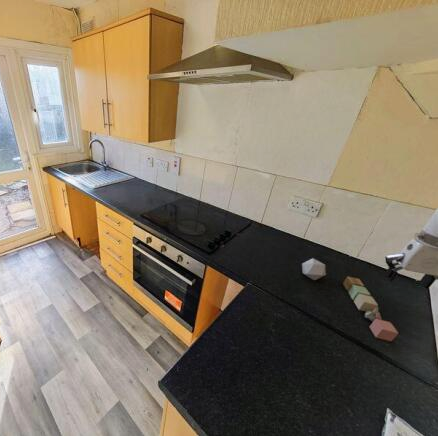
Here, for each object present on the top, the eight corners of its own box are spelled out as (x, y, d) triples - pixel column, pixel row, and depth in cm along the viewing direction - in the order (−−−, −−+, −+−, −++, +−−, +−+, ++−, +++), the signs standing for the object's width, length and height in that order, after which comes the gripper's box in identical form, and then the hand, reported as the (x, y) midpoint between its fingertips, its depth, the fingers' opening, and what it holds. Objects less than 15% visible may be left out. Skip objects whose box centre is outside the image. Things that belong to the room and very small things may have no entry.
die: (325, 280, 104) (323, 258, 105) (327, 282, 96) (325, 258, 98) (303, 278, 109) (301, 257, 110) (303, 280, 101) (301, 257, 103)
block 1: (354, 286, 100) (359, 278, 98) (358, 293, 97) (364, 285, 95) (342, 283, 101) (347, 276, 99) (346, 290, 98) (351, 282, 96)
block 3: (366, 304, 91) (372, 296, 89) (372, 313, 88) (378, 305, 85) (353, 301, 92) (358, 293, 90) (358, 309, 89) (364, 301, 87)
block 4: (383, 330, 81) (390, 322, 79) (391, 341, 77) (398, 333, 75) (369, 326, 82) (375, 318, 80) (375, 337, 78) (382, 329, 76)
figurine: (374, 316, 86) (383, 305, 83) (383, 326, 82) (392, 315, 80) (359, 313, 87) (367, 302, 84) (366, 323, 83) (375, 312, 80)
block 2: (360, 295, 96) (365, 287, 94) (365, 302, 92) (370, 294, 90) (347, 292, 97) (352, 284, 95) (352, 299, 93) (357, 291, 91)
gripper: (409, 240, 68) (380, 283, 76) (486, 252, 63) (447, 296, 71) (394, 228, 74) (368, 269, 82) (463, 238, 70) (429, 280, 78)
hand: (405, 281), depth 77 cm, fingers open, 9 cm apart
